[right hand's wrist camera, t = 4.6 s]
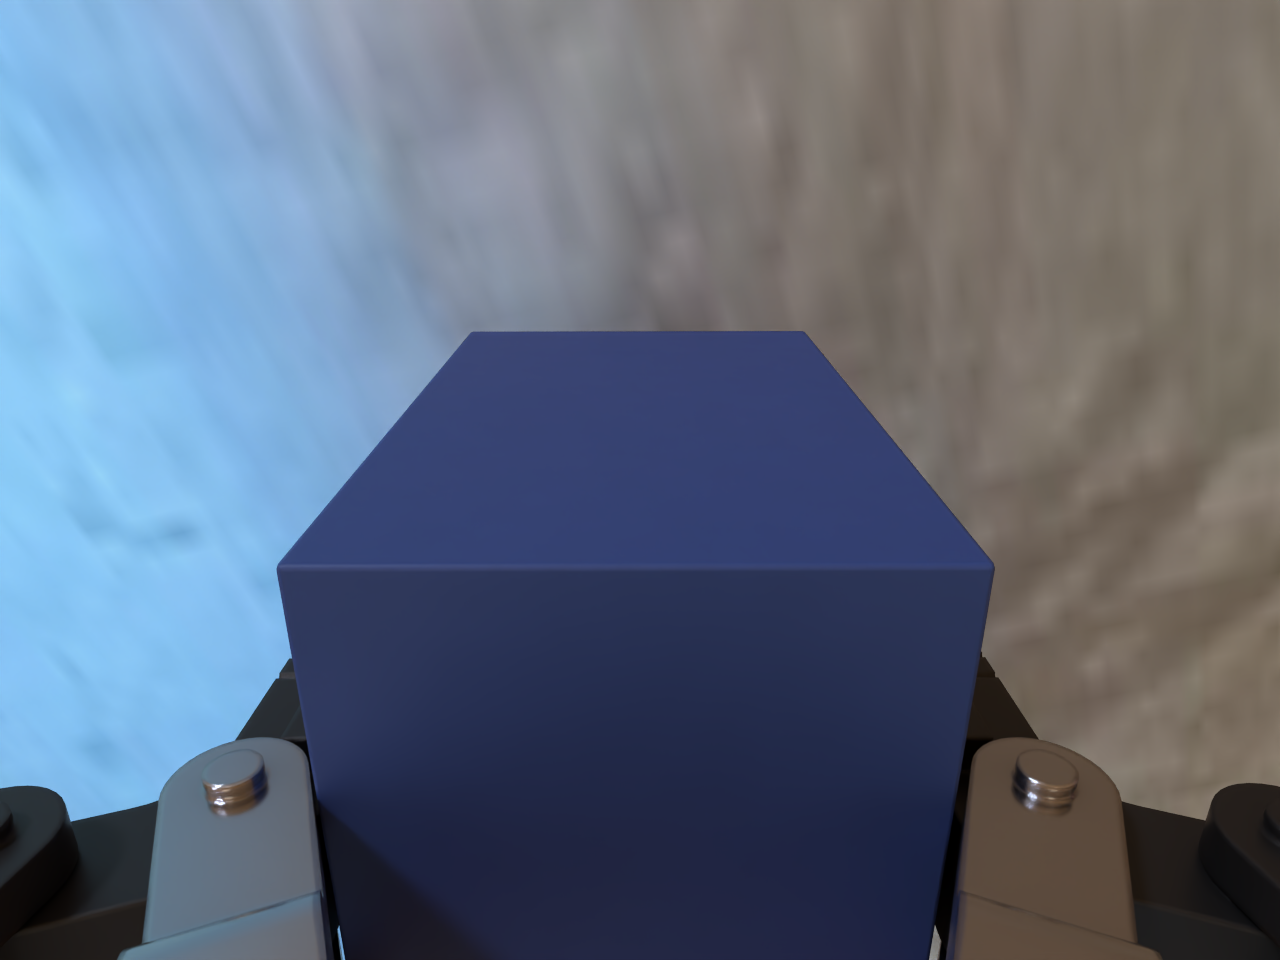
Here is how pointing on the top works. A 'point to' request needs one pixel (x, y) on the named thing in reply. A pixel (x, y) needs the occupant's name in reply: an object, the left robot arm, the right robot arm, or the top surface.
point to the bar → (636, 661)
